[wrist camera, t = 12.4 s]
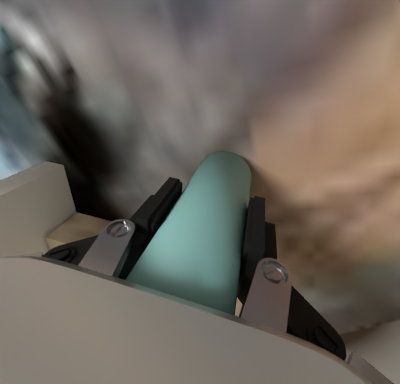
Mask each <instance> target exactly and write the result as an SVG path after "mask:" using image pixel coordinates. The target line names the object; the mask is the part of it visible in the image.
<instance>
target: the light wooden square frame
mask: <svg viewBox="0 0 400 384" xmlns="http://www.w3.org/2000/svg"><path fill="white" fill-rule="evenodd" d="M110 222H111V221H108V220H104V219H100V218H97V217H93V216H89V215H85V214H81V213H76V214H75V215H73V216H72V217H71V218H70V219H68V220H67V221H66V222H65V223H63V224H62V225H61V226H59V227H58V228H57V229H56V230H54V231H53V232H52V233H51V234H49V235H48V236H47V237H45V238H46V240H47V243H48V245H49V248H50V250H51V249H52V248H54V247H57V246H59V245H63V244H66V243H70V242H74V241H77V240H81V239H85V238H88V237H92V236H96V235H99V234H100V233H101V231H102V230H103V228H104V227H105V226H106V225H107V224H108V223H110Z"/></svg>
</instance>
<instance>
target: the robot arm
mask: <svg viewBox="0 0 400 384" xmlns="http://www.w3.org/2000/svg"><path fill="white" fill-rule="evenodd" d="M181 194H182V182H180V180H179V179H176V178H171V177H170V178H169V179H168V180H167V181H166V182H165V183H164V185H163V186H162V187H161V188H160V189H159V190H158V192H157V193H156V194H155V195H151V196H150V197H149V198H148V199H147V200H146V201H145V202H144V204H143V205H142V206H141V207H140V208H139V209H138V210H137V212H136V213H135V214H134V215H133V216H132V217H131V218H130V220H126V219H118V220H114V221H111V222H110V223H108V224H107V225H106V226H105V227H104V228H103V230H102V231H101V233H100V234H99V235H96V236H92V237H88V238H85V239H81V240H77V241H74V242H70V243H66V244H63V245H59V246H57V247H54V248H52V249H51V250H49V251H48V252H47V253H45V254H43V252H37V253H31V254H25V255H18V256H5V257H0V384H394V383H392V382H391V381H390V380H389V379H388V378H386V377H385V376H384V375H383V374H381V373H380V372H379V371H378V370H377V369H375V368H374V367H373V366H372V365H371V364H369V363H368V362H367V361H366V360H365V359H363V358H362V357H361V356H360V355H358V354H357V353H356V352H355V351H354V352H353V353H351V352H350V351H349V350H347V348H345V344H344V342H343V340H342V338H341V337H340V335H339V334H338V333H337V332H336V330H335V329H334V328H333V327H332V326H331V325H330V324H329V323H328V322H327V321H326V320H325V319H324V318H323V317H322V316H321V315H320V314H319V313H318V312H317V311H316V310H315V309H314V308H313V307H312V306H311V305H310V304H309V303H308V302H307V301H306V300H305V299H304V297H303V296H302V295H301V294H300V293H299V292H298V291H297V290H296V289H295V288H294V287H293V286H292V274H291V272H290V270H289V269H288V267H287V266H286V265H285V264H284V263H282V262H281V261H279V260H277V248H276V231H275V224H272V223H268V222H265V198H262V197H258V196H255V197H254V198H250V201H249V205H248V208H247V215H246V223H245V231H244V239H243V247H242V255H241V267H240V276H239V284H238V292H237V297H238V299H239V300H240V302H241V303H242V307H241V311H240V314H239V317H238V316H235V315H231V314H228V313H225V312H222V311H219V310H216V309H213V308H210V307H207V306H204V305H201V304H198V303H195V302H192V301H188V300H185V299H182V298H179V297H176V296H173V295H170V294H167V293H164V292H160V291H157V290H154V289H151V288H148V287H145V286H142V285H139V284H135V283H132V282H129V281H126V278H127V277H128V275H129V274H130V272H131V271H132V269H133V268H134V266H135V265H136V263H137V261H138V260H139V258H140V257H141V255H142V254H143V252H144V251H145V249H146V248H147V246H148V245H149V243H150V241H151V240H152V238H153V237H154V235H155V234H156V232H157V231H158V229H159V228H160V226H161V225H162V223H163V221H164V220H165V218H166V217H167V215H168V214H169V212H170V211H171V209H172V208H173V206H174V205H175V203H176V201H177V200H178V198H179V197H180V195H181Z"/></svg>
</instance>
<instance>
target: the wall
mask: <svg viewBox="0 0 400 384" xmlns="http://www.w3.org/2000/svg"><path fill="white" fill-rule="evenodd" d="M75 214H76V209H75V205H74V202H73V198H72V194H71V191H70V187H69V184H68V180H67V176H66V173H65V169H64V165H62V164H57V163H53V162H48V161H44V162H42V163H40V164H37V165H35V166H33V167H30V168H28V169H26V170H24V171H21V172H19V173H17V174H14V175H12V176H10V177H7V178H5V179H3V180H0V257H5V256H18V255H25V254H31V253H37V252H43V254H45V253H47V252H48V251H49V250H50V248H49V245H48V243H47V240H46V238H45V237H47V236H48V235H49V234H51V233H52V232H53V231H54V230H56V229H57V228H58V227H59V226H61V225H62V224H63V223H65V222H66V221H67V220H68V219H70V218H71V217H72V216H73V215H75Z"/></svg>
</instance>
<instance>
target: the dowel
mask: <svg viewBox="0 0 400 384" xmlns="http://www.w3.org/2000/svg"><path fill="white" fill-rule="evenodd" d="M250 187H251V170H250V168H249V166H248V164H247V163H246V161H245V160H244V159H243V158H241V157H240V156H238V155H236V154H234V153H231V152H226V151H221V152H215V153H213V154H210V155H209V156H207V157H206V158H205V159H204V160H203V162H202V163H201V165H200V166H199V168H198V169H197V171H196V172H195V174H194V175H193V177H192V178H191V180H190V181H189V183H188V185H187V186H186V188H185V189H184V191H183V192H182V194H181V195H180V197H179V198H178V200H177V201H176V203H175V205H174V206H173V208H172V209H171V211H170V212H169V214H168V215H167V217H166V218H165V220H164V221H163V223H162V225H161V226H160V228H159V229H158V231H157V232H156V234H155V235H154V237H153V238H152V240H151V241H150V243H149V245H148V246H147V248H146V249H145V251H144V252H143V254H142V255H141V257H140V258H139V260H138V261H137V263H136V265H135V266H134V268H133V269H132V271H131V272H130V274H129V275H128V277H127V278H126V281H129V282H132V283H135V284H139V285H142V286H145V287H148V288H151V289H154V290H157V291H160V292H164V293H167V294H170V295H173V296H176V297H179V298H182V299H185V300H188V301H192V302H195V303H198V304H201V305H204V306H207V307H210V308H213V309H216V310H219V311H222V312H225V313H228V314H231V315H235V308H236V300H237V292H238V284H239V276H240V267H241V255H242V247H243V239H244V231H245V223H246V215H247V208H248V203H249V195H250Z"/></svg>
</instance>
